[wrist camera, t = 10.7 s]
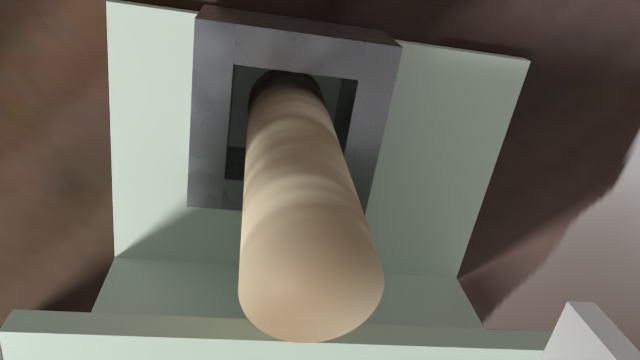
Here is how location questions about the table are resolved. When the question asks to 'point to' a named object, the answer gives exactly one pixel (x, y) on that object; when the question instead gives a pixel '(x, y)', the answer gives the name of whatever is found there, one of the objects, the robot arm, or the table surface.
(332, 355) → the awning station
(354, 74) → the socket
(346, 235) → the peg
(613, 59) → the table surface
